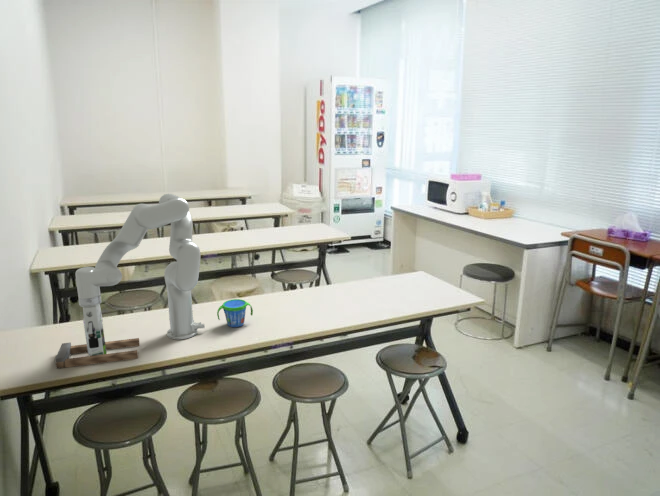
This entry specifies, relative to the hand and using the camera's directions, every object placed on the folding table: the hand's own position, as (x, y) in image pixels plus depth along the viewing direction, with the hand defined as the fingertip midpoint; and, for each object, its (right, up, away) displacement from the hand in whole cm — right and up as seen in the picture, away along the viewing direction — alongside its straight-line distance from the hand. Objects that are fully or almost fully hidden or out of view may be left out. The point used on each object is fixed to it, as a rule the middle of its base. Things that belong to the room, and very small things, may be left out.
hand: (95, 342), depth 189 cm
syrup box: (0, -5, +1) cm, 5 cm away
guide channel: (+1, -5, +2) cm, 6 cm away
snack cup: (+48, +2, +31) cm, 57 cm away
